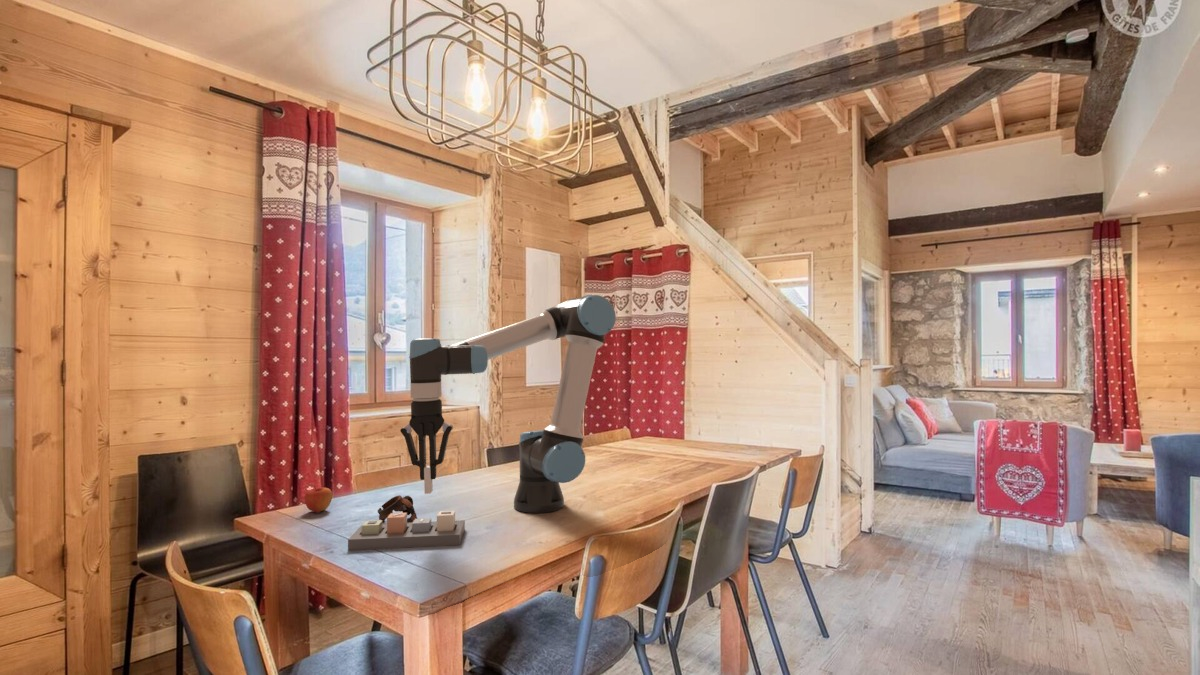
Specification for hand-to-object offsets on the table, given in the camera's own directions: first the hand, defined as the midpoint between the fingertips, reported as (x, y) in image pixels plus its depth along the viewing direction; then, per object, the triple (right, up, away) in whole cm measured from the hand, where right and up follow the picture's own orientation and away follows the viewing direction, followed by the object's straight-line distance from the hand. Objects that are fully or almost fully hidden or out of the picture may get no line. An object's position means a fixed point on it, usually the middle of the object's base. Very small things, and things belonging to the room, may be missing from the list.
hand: (428, 492), depth 146 cm
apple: (-40, -13, +24) cm, 49 cm away
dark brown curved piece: (-12, -12, +14) cm, 23 cm away
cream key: (+4, -9, 0) cm, 10 cm away
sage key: (-13, -11, -2) cm, 18 cm away
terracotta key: (-7, -9, -1) cm, 12 cm away
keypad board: (-4, -12, -1) cm, 13 cm away
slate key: (-1, -11, -1) cm, 11 cm away
